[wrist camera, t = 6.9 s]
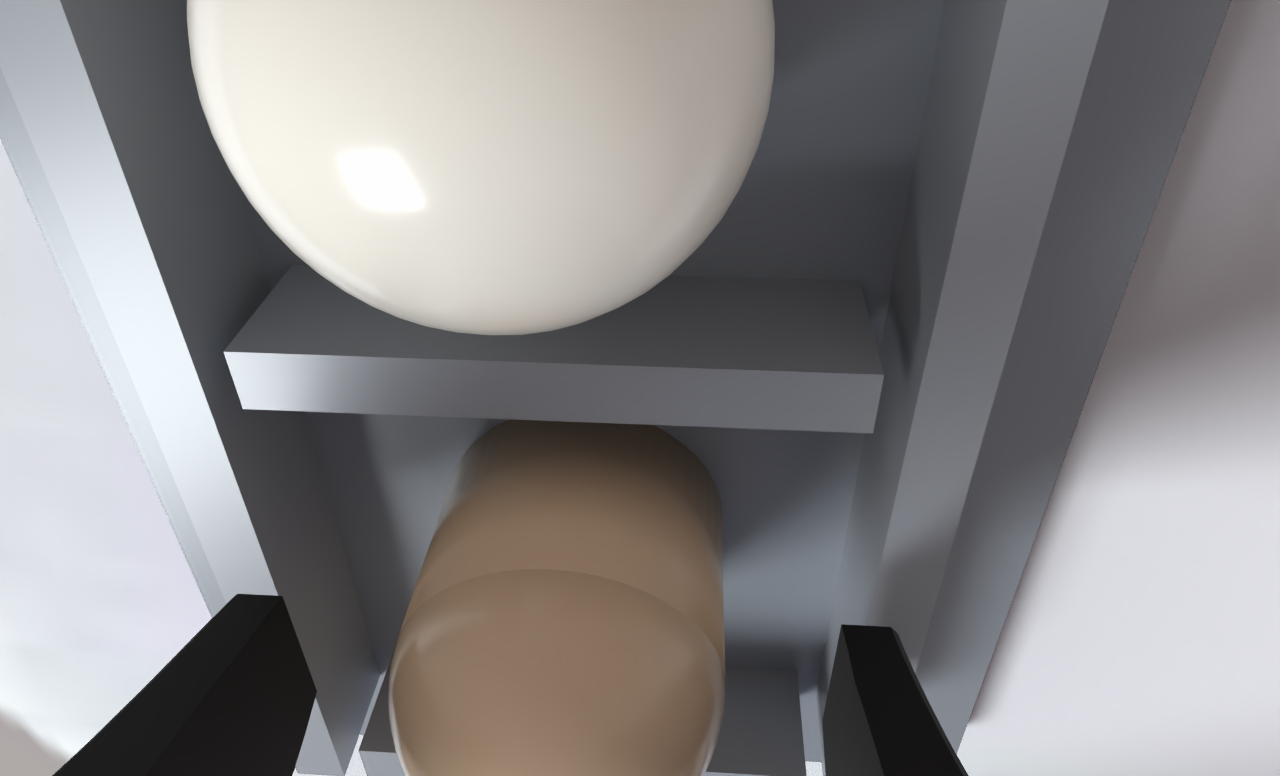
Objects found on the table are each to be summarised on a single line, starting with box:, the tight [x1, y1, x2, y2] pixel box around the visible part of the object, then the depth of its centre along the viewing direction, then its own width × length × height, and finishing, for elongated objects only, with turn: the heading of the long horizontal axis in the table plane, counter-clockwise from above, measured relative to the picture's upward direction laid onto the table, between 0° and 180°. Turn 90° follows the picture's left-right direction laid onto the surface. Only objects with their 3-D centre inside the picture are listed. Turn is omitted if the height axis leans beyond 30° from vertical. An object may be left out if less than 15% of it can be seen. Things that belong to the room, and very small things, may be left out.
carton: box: [0, 0, 1231, 776], centre depth 11 cm, size 20×14×3 cm, turn 0°
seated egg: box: [187, 0, 775, 335], centre depth 7 cm, size 4×4×5 cm
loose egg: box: [388, 419, 725, 776], centre depth 12 cm, size 4×4×5 cm
